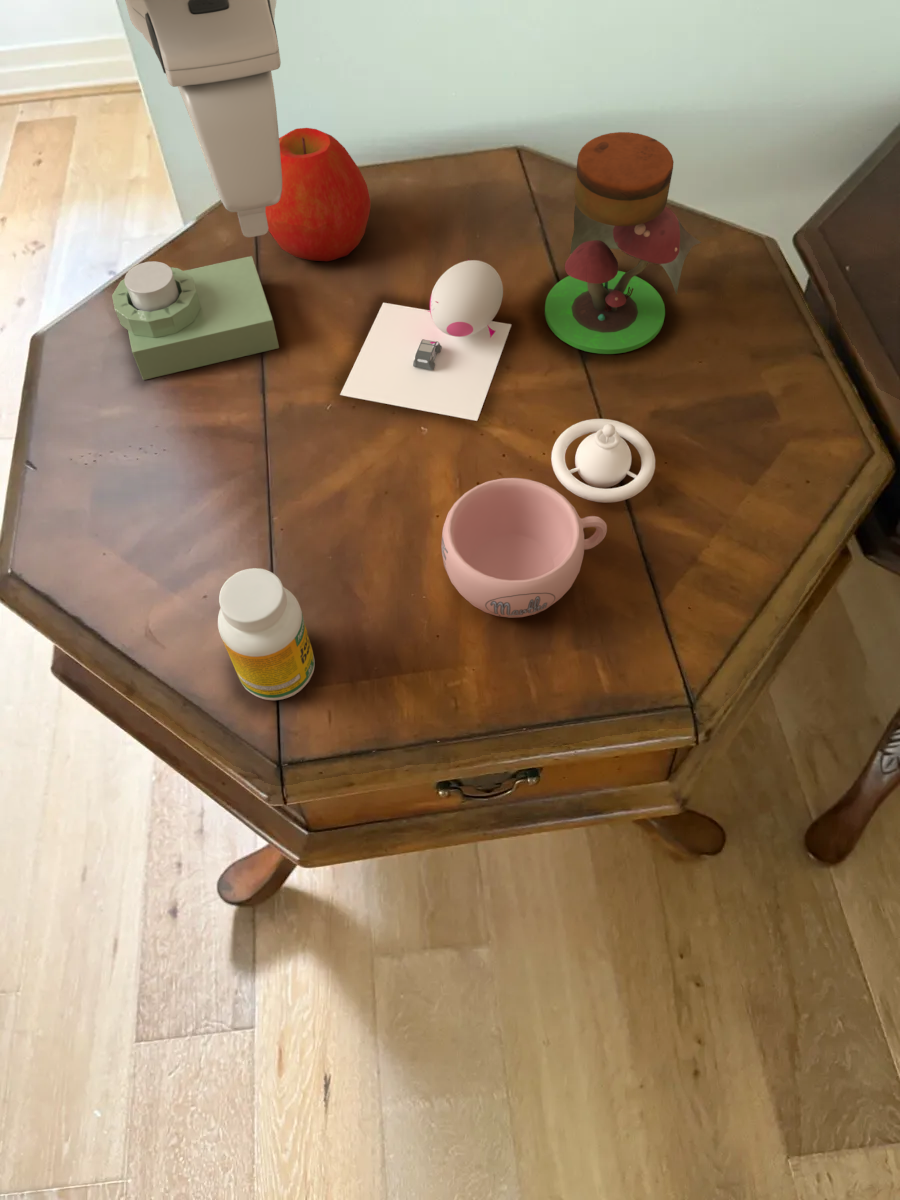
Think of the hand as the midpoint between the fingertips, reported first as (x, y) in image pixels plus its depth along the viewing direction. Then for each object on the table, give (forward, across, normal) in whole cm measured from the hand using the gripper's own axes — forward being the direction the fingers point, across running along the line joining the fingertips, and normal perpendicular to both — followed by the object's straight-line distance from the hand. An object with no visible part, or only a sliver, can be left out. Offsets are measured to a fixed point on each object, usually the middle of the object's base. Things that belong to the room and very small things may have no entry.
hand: (242, 190), depth 69 cm
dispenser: (+18, -8, -6) cm, 20 cm away
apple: (+18, -17, +7) cm, 25 cm away
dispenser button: (+13, -8, -9) cm, 17 cm away
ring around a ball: (+18, +19, +22) cm, 34 cm away
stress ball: (+17, -1, +16) cm, 24 cm away
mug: (+18, +26, +13) cm, 34 cm away
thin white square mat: (+18, +2, +12) cm, 22 cm away
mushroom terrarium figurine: (+17, +2, +30) cm, 34 cm away
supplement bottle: (+18, +28, -6) cm, 34 cm away
